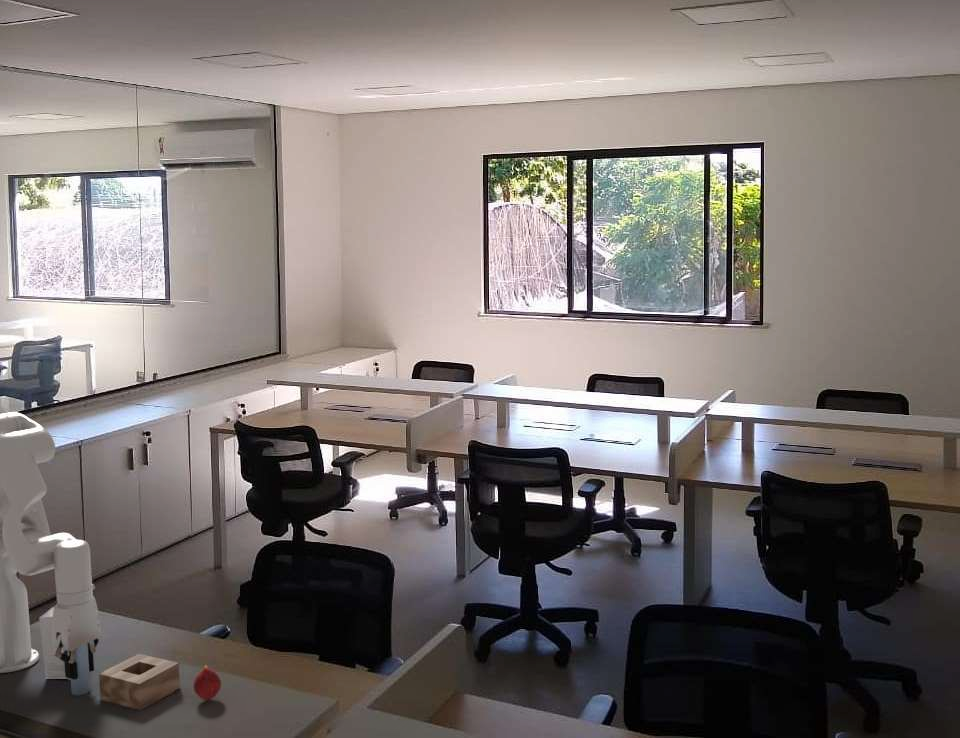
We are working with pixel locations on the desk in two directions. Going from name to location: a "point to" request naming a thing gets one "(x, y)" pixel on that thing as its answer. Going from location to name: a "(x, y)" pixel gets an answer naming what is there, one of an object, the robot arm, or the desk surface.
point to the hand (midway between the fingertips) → (79, 673)
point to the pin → (81, 671)
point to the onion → (207, 684)
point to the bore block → (139, 681)
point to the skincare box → (50, 649)
